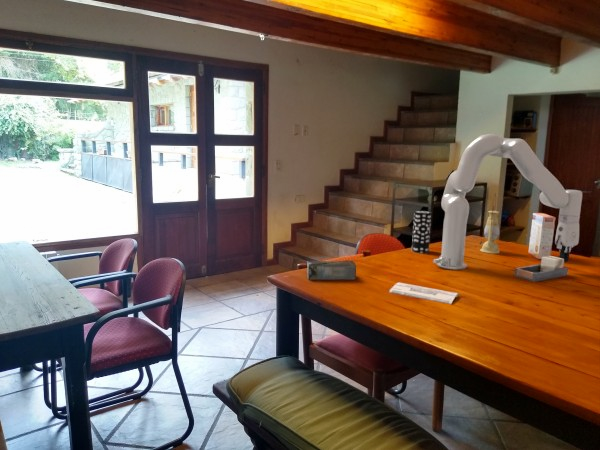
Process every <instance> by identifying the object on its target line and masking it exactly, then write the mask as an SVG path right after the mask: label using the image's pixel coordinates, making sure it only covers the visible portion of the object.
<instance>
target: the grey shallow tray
mask: <svg viewBox="0 0 600 450" xmlns="http://www.w3.org/2000/svg"><path fill="white" fill-rule="evenodd" d="M540 269H541V263H540V264H539V263H538V264H533V265H528V266H527V265H526V266H521V267H515V268H514V273H513V276H514V277H516V278H520V279H523V280H526V281H530V282H533V283H535V282H541V281H545V280H546V281H547V280H551V279H556V278H561V277H565V276H568V271H569V267H567V266H566V267H565V266H563V268H559V269H554V270H548V271H540Z"/></svg>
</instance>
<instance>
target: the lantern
mask: <svg viewBox="0 0 600 450" xmlns="http://www.w3.org/2000/svg"><path fill="white" fill-rule="evenodd" d="M496 194H497V193H494V197H493V202H492V204H494V203H495V205H494V206H492V207H491V208H492V209H491V210H489V211H487V213H488V215H489V216H488V217H487V221H486V224H485V227H484V230H483V231H484V232H483V236H484V238H485V239H486V240H487V241H485V242H483V241H480V243H479V245H481V248H480V249H479V251H480V252H482V253H485V254H494V255H495V254H500V250H499V245H498V243H496V240H498V238H499V237H500V226H499V217H497V216H498V214H499V213H500V211H498V210H495V208H496V204H497V201H495V199H496V198H497V195H496ZM494 201H495V202H494Z"/></svg>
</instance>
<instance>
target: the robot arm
mask: <svg viewBox="0 0 600 450" xmlns="http://www.w3.org/2000/svg"><path fill="white" fill-rule="evenodd" d="M487 156H491V157H497V158H504V159H510V160H511V161H512V163H513V164H514V165H515V167H516V169H517V170H518V171H519V172H520V174H521V176H523V177H524V179H526V180H527V181H528V182H530V183H531V184H533V185H534V186H536V187H537V188H538V189H539V190H540V191H541V192H540V194H539V196H538V198H539V201H540V202H541V204H543V205H545V206H547V207H550V208H554V209H559V214H558V224H557V228H556V233H555V240H554V243H555V245H556V249H558V250H559V257H558V258H562V259H564V263H569V259H570V253H571V250H572V248H574V247H575V246H577V245H578V244H579V242H580V218H581V216H580V215H581V207H582V201H583V192H582V191H581V190H579V189H578V190H577V189H565V188H564V186H563V185H562V184H561V182H560V181H559V180H558V178H556V177H555V176H554V174H552V172H551V171H549V169H547V167H545V165H543V163H542V162H541V160H540V159H539V158H538V157H537V155H536V153H535V152H534V151H533V150H532V148H531V146H530V145H529V144H528V143H527V141H526V140H524V139H522V138H519V137H518V138H507V137H501V136H499V135H498V134H496V133H487V134H481V135H479V136H478V137H476V138H475V140H473V141H472V142H471V143H469V144H468V145H467V147H465V149H464V151H463V153H462V155H461V156H460V157H461V158H460V161H459V163H458V166H457V169H456V170H454V171H453V172H452V173H451V174H450V175H449V177H448V178H447V180H446V185H445V187H444V191H443V195H442V197H441V203H440V204H441V209H442V210H443V211H444V218H443V225H442V227H443V228H442V241H441V254H440V255H439V257H438V258H434V259H433V260H432V263H434V264H436V265H437V266H438V267H440V268H443V269H446V270H447V269H448V270H456V271H457V270H459V271H460V270H465V269H466V268H467V264H466V263H465V262H464V257H465V248H466V247H465V246H466V237H467V236H466V235H467V224H468V218H469V213H470V204H469V202H468V200H467V199H466V194H467V193H469V192H470V191H472V190H473V188H474V187H475V184H476V181H477V178H478V175H479V171H480V168H481V166H482V162H483V161H484V160H485V158H487Z"/></svg>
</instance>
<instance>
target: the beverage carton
mask: <svg viewBox="0 0 600 450" xmlns="http://www.w3.org/2000/svg"><path fill="white" fill-rule="evenodd" d="M306 264H307V268H306V271H307V272H306V275H307V279H308V280H311V281H312V280H313V281H314V280H315V281H316V280H319V281H321V280H322V281H328V280H329V281H330V280H332V281H333V280H335V281H336V280H337V281H338V280H339V281H341V280H350V281H351V280H353V281H355V280H356V278H357V265H356V263H355V262H354V260H349V259H348V260H347V259H346V260H307V263H306Z"/></svg>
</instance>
